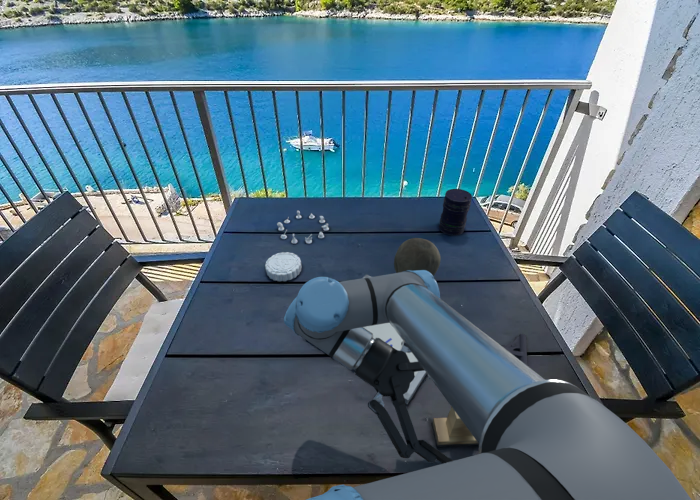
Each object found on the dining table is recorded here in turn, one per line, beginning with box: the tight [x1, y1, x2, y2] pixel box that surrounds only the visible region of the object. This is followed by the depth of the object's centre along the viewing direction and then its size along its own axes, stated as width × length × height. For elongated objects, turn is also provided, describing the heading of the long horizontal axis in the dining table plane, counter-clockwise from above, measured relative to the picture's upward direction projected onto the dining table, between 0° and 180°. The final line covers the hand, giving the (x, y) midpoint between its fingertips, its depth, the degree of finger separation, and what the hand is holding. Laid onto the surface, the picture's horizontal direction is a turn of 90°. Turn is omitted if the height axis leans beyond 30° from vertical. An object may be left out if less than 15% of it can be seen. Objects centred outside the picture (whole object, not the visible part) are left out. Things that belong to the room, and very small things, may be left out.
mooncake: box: [264, 251, 302, 282], centre depth 118 cm, size 12×12×4 cm
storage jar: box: [438, 188, 473, 236], centre depth 133 cm, size 10×10×15 cm
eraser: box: [431, 406, 479, 448], centre depth 73 cm, size 10×5×10 cm, turn 92°
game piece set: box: [276, 210, 330, 245], centre depth 136 cm, size 19×20×4 cm
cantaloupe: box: [393, 237, 442, 277], centre depth 110 cm, size 14×14×15 cm
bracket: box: [500, 333, 528, 366], centre depth 92 cm, size 14×15×3 cm
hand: (470, 427), depth 58 cm, fingers open, 13 cm apart
